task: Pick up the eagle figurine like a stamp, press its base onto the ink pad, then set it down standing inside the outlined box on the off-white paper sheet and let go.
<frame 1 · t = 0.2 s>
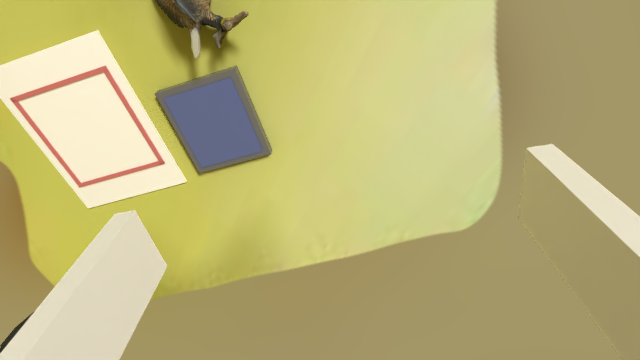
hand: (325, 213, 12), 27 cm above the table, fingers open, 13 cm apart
print sheet: (93, 131, 41), on the table
ink pad: (217, 121, 40), on the table
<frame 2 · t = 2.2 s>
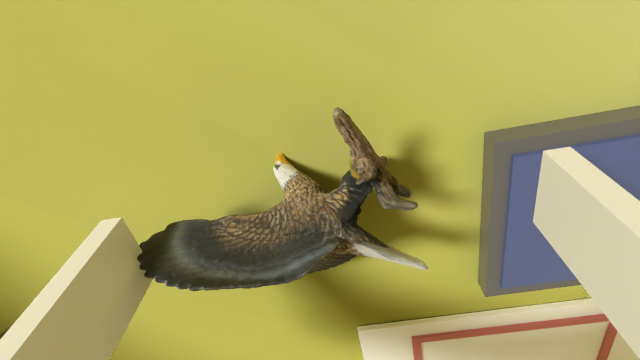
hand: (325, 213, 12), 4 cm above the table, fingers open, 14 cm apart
eagle figurine: (303, 190, 17), on the table, touching gripper
ink pad: (591, 200, 17), on the table
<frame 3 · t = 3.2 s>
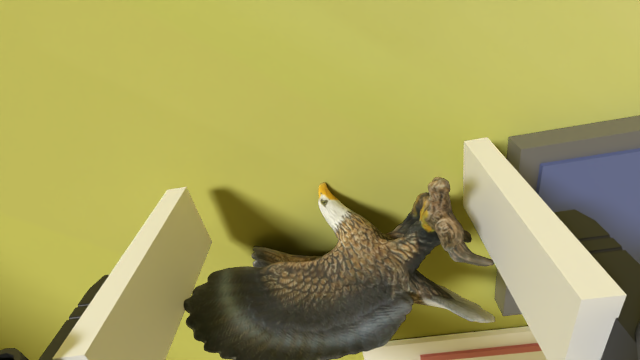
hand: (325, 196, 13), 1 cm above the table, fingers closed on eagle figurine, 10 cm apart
eagle figurine: (341, 219, 16), on the table, touching gripper
ink pad: (625, 213, 15), on the table
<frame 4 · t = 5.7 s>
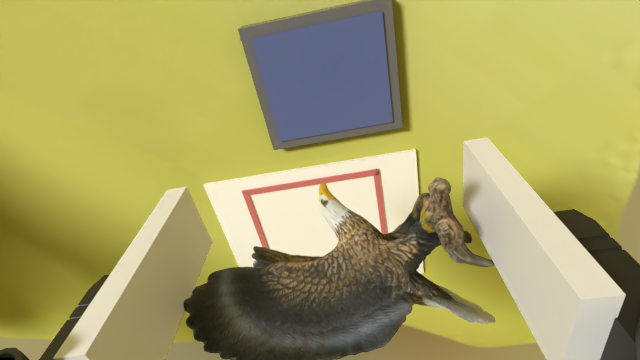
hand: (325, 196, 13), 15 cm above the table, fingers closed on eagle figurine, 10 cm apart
print sheet: (322, 230, 34), on the table
eagle figurine: (341, 220, 16), point 14 cm above the table, touching gripper
ink pad: (326, 77, 26), on the table
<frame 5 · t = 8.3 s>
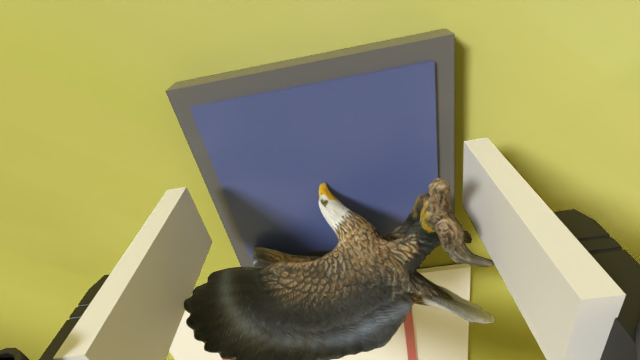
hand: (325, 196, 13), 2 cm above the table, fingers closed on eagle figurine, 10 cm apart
print sheet: (321, 359, 23), on the table
eagle figurine: (341, 220, 16), point 1 cm above the table, touching gripper, ink pad
ink pad: (327, 163, 15), on the table
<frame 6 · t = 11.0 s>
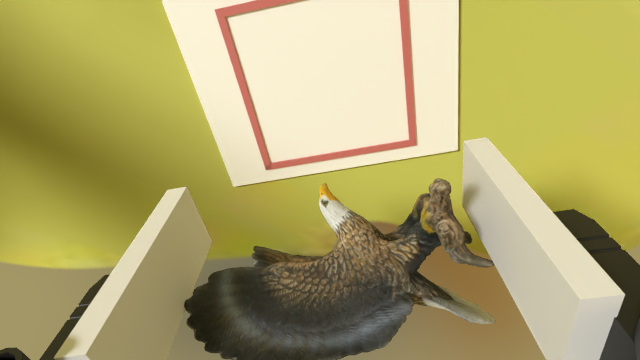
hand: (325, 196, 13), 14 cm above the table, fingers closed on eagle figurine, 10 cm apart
print sheet: (325, 82, 25), on the table
eagle figurine: (341, 220, 16), point 13 cm above the table, touching gripper
when the fingers open (3 cm above the table, at t = 13.4 s): eagle figurine stays where it is, resting on print sheet.
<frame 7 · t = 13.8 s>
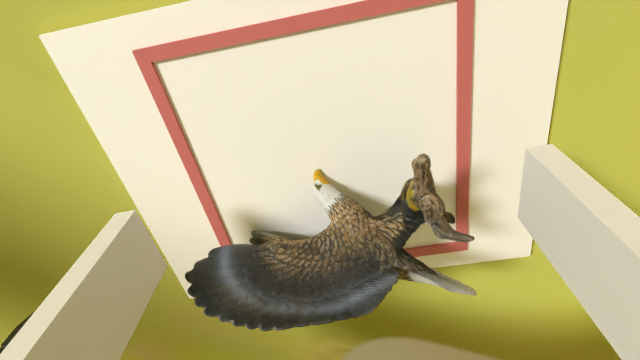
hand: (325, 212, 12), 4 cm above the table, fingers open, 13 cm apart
print sheet: (325, 160, 16), on the table
eagle figurine: (334, 206, 17), resting on print sheet
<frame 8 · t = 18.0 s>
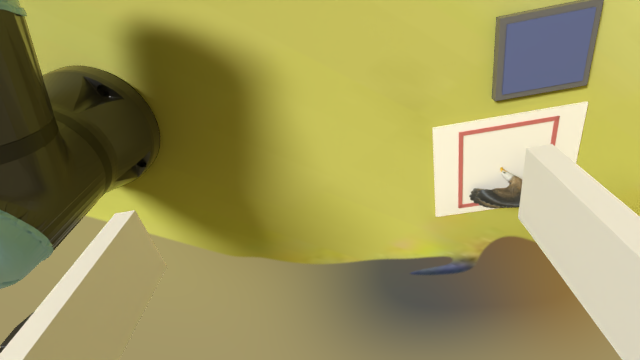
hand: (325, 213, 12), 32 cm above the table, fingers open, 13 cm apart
print sheet: (503, 164, 47), on the table
eagle figurine: (502, 179, 48), resting on print sheet
ink pad: (540, 51, 40), on the table
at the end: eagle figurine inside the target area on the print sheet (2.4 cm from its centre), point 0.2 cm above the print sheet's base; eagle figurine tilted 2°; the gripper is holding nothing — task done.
